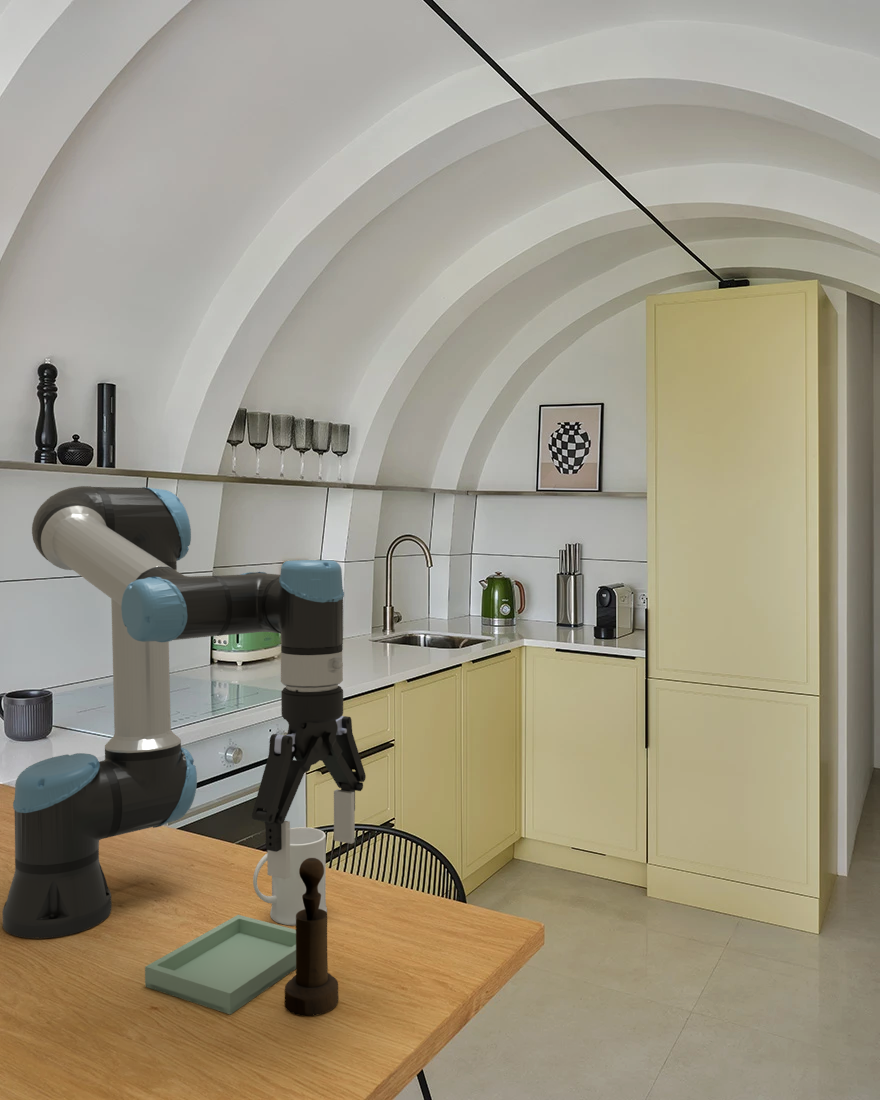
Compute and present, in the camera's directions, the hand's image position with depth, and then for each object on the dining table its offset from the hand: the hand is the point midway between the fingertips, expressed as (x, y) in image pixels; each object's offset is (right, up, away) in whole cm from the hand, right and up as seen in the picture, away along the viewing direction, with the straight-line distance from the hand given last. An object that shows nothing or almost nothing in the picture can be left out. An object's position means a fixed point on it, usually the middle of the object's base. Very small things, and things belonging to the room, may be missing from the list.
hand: (313, 858), depth 115 cm
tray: (-12, -18, +9) cm, 23 cm away
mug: (-7, -18, +26) cm, 32 cm away
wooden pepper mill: (0, -18, +1) cm, 18 cm away
